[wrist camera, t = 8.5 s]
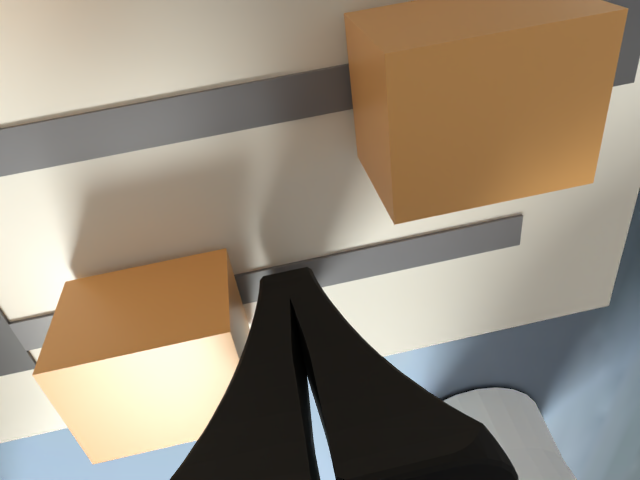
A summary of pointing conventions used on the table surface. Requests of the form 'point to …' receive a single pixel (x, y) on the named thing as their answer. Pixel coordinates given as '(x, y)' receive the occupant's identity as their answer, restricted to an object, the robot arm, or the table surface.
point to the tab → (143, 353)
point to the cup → (516, 431)
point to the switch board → (260, 179)
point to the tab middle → (480, 98)
